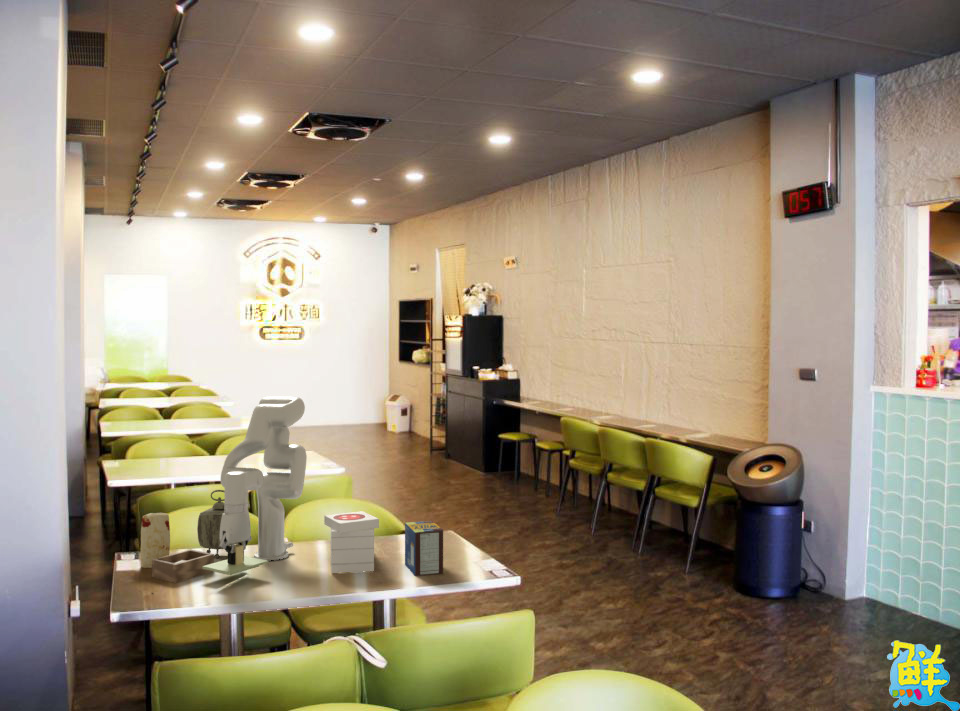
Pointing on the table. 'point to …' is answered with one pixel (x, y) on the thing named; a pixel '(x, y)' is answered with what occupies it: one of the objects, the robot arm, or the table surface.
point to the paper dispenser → (352, 541)
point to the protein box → (424, 548)
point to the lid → (239, 564)
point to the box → (181, 565)
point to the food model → (154, 538)
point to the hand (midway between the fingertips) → (235, 562)
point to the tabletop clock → (211, 525)
